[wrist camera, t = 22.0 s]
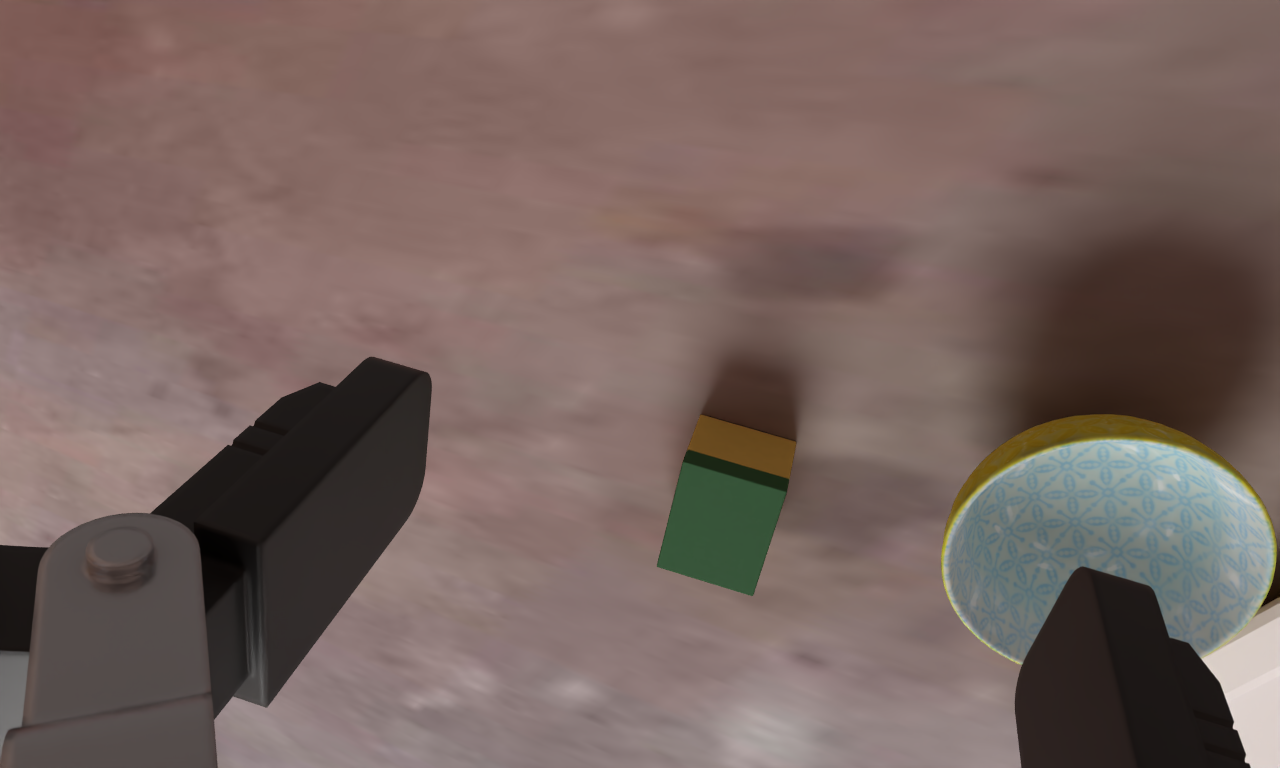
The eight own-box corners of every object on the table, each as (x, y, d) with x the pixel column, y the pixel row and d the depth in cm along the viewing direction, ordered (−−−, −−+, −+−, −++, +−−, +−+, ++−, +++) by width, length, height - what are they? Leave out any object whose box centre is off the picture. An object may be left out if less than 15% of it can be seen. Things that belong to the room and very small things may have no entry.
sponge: (700, 413, 44) (682, 461, 41) (796, 441, 44) (786, 492, 41) (674, 515, 48) (656, 567, 44) (764, 542, 47) (752, 596, 44)
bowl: (1289, 504, 40) (1347, 605, 34) (1038, 620, 45) (1054, 722, 40) (1127, 303, 37) (1161, 379, 32) (883, 452, 43) (879, 537, 38)
